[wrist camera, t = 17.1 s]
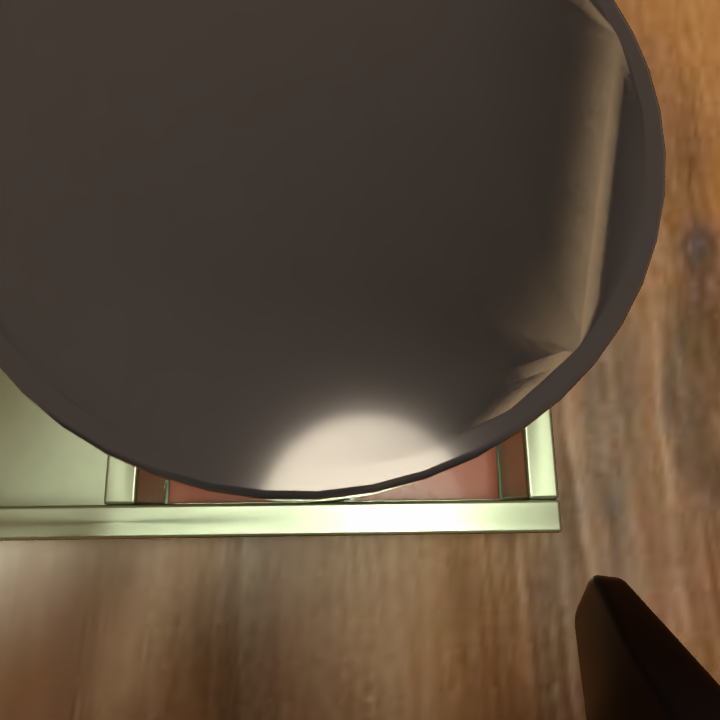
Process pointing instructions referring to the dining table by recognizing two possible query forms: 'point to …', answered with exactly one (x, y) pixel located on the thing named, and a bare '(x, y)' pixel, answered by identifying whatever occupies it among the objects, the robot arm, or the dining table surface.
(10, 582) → the dining table surface
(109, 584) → the dining table surface
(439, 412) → the jar
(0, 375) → the tray
